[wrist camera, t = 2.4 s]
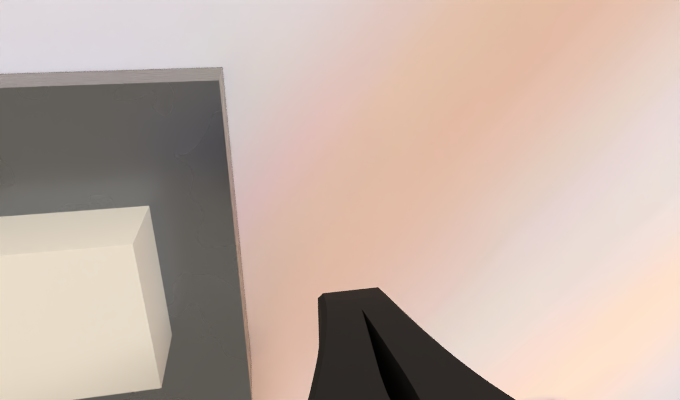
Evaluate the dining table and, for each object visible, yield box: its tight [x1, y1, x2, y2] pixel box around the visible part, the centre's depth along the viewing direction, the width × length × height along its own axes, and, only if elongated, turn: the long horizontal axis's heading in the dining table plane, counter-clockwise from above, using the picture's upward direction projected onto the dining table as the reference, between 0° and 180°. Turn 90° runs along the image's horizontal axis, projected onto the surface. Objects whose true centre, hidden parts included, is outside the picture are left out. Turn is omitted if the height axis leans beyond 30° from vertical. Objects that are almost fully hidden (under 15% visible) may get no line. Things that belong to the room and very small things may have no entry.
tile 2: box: [0, 206, 172, 400], centre depth 12 cm, size 4×4×2 cm
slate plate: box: [0, 67, 252, 400], centre depth 13 cm, size 10×12×2 cm
